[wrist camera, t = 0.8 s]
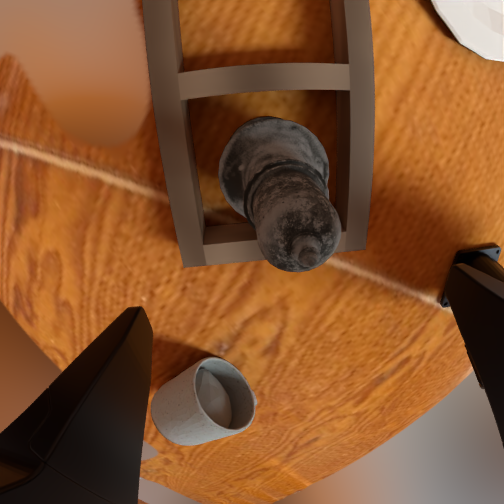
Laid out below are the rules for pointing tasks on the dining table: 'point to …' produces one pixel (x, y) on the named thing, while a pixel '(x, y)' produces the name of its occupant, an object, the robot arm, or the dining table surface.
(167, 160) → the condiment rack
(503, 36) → the plate
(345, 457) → the dining table surface
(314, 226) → the salt shaker
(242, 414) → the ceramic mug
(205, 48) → the dining table surface
